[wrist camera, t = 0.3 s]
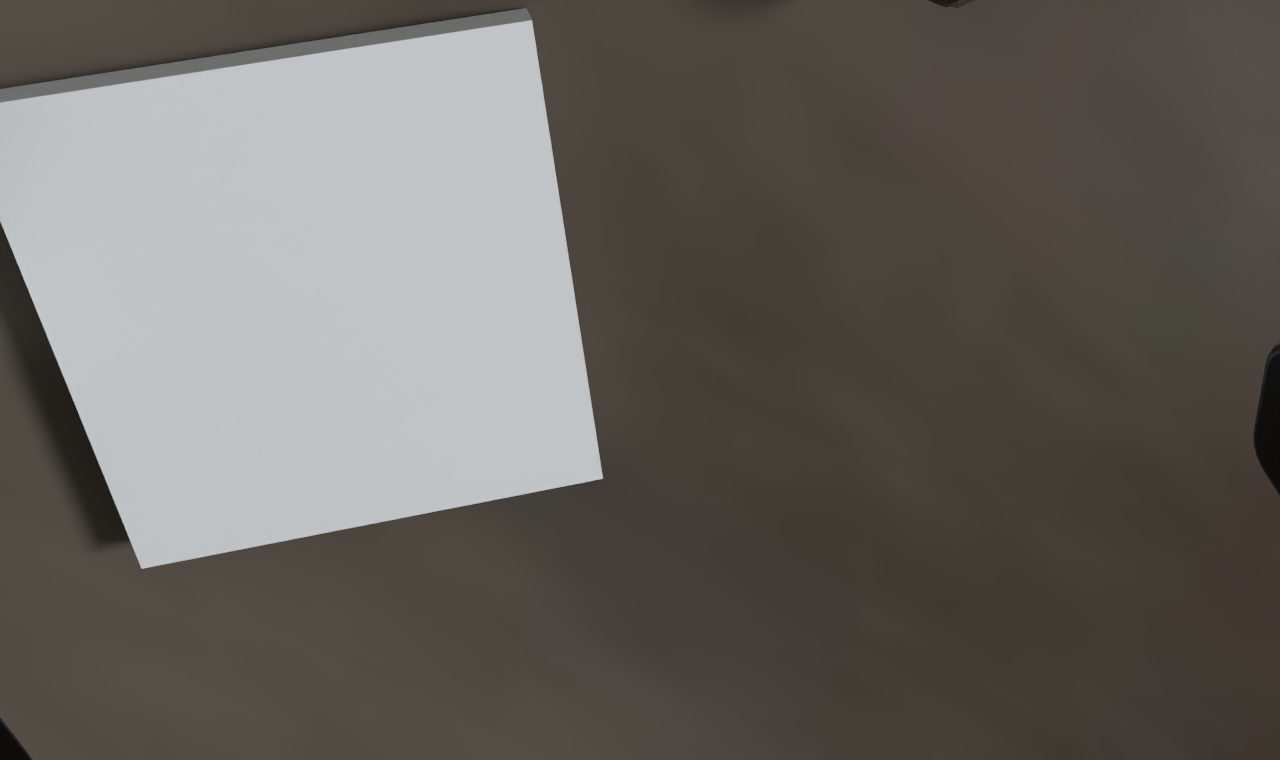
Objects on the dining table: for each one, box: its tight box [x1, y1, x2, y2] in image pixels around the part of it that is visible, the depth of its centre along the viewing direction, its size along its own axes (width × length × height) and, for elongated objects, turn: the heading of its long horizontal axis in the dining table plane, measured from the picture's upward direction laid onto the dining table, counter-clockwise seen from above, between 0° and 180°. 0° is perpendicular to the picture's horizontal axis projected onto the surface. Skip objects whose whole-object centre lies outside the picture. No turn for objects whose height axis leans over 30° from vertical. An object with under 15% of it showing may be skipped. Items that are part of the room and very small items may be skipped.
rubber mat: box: [0, 8, 603, 569], centre depth 21 cm, size 9×9×1 cm
